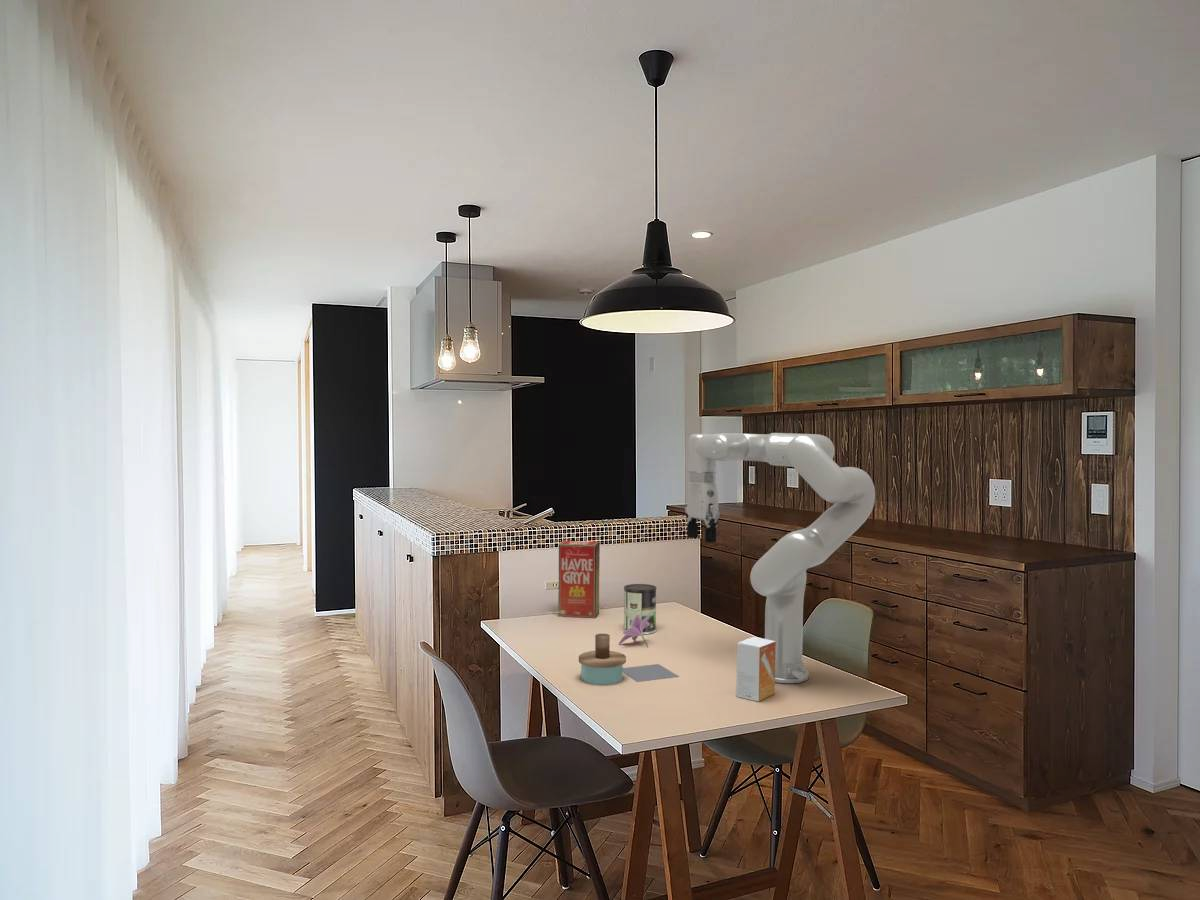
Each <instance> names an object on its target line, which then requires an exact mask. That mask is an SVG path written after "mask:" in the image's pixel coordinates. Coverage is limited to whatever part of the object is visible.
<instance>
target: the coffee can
mask: <svg viewBox="0 0 1200 900" xmlns="http://www.w3.org/2000/svg"><path fill="white" fill-rule="evenodd" d="M623 590H624V594H623V595H624V600H623V602H624V603H623V604H624V606H623V608H624V609H623V612H624V614H623V615H624V620H623V621H624V622H623V623H624V625H623V626H624V627H623V632H624V631H626V630H627V629H629V628H631V624H632V621H633V619H634V618H635V616H636V615H639V616H640V618H641V619H642V620H643V619H645V618H646V617H648V616H649V615H651V614H652V615H651V616H650V618H649V619H648V620H647V622H648V623H650V625H649V626H647V627H645V628H643V632H642V635H651V634H654V633H656V631H657V627H656V625H657V621H656V620H657V615H656V614H657V613H656V612H657V585H656V586H655V585H652V584H648V583H646V584H645V583H633V584H632V583H629V584H626V585H624V586H623Z"/></svg>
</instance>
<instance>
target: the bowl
mask: <svg viewBox="0 0 1200 900" xmlns="http://www.w3.org/2000/svg"><path fill="white" fill-rule="evenodd" d="M580 664H581V663H580ZM623 665H624V664H623ZM623 665H621V666H617V667H610V668H596V667H589V666H585V665H582V664H581V666H580V667H581V673H580V675H581V676H580V677H581V681H583V682H584V683H588V684H591V685H599V686H600V685H602V686H608V685H614V684H618V683H620V682H622V680H623V678H624V677H623V674H624V673H623V668H624V667H623Z"/></svg>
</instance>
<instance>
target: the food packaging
mask: <svg viewBox="0 0 1200 900" xmlns="http://www.w3.org/2000/svg"><path fill="white" fill-rule="evenodd" d="M600 548H601V547H600V541H585V540H584V541H579V540H578V541H577V540H562V542H561V543H559V544H558V602H557V603H558V605H557V606H558V609H557V610H558V616H557V617H559V616H562V617H563V618H583V619H587V618H589V619H596V618H597V617H598V615H599V614H600V559H601V558H600V555H601V554H600V552H601V551H600ZM562 617H561V618H562Z"/></svg>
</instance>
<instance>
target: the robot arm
mask: <svg viewBox="0 0 1200 900" xmlns="http://www.w3.org/2000/svg"><path fill="white" fill-rule="evenodd" d="M834 456H835V446H834V443H833V442H832V440H831V439H830V438H829V437H827V436H825V435H823V434H818V433H817V434H816V433H815V434H814V433H789V432H788V433H787V432H771V433H768V434H763V433H762V434H761V433H759V434H758V433H743V432H742V433H738V432H737V433H735V432H728V433H727V432H724V433H723V432H721V433H693V434H690V435H689V438H688V471H687V472H688V489H687V503H686V504H687V505H686V506H685V507H684V510H685V517H686V523H687V526H686V527H687V528H686V529H687V534H686V535H687V537H686V538H689V539H693V538H698V537H699V523H698V521H699V520H701V521H704V524H705V526H706V527H704V542H705V543H716V542H717V527H718V523H719V518H720V516H721V515H720V514H721V513H720V511H719V496H718V495H719V493H718V488H717V483H716V478H717V477H716V476H717V475H716V473H717V471H716V470H717V469H716V468H717V466H716V465H717V461H719V462H728V461H746V462H747V461H750V462H764V463H768V464H769V465H770V466H777V467H793V468H794V470H795V471H796V472H797V473H798V474H799V476H801V477H802V478H803V480H804V481H805V482H806V483H807V484H808V485H809V486H810V487H811V489H812V490H814V492H815V493H817V495H818V496H819V497H820V498H821V499H823V500H825V501H826V502H828V503H831V504H832V505H831V506H830V507H829V508H828V509H826V510H825V511H824V512H822V514H821V515H820V516H819V517H817V518H816V520H814V521H813V522H812V523H811V524H810V525H808V526H807V527H806V528H803V529H797V530H794V531H791V532H788V533H787V534H785V535H784V536H782V537H781V538H780V539H779V540H778V541H777V542H776V543H775V544H774V545H773V546H772V547H771V548H770V549H768V551H766V552H765V553H764V554H763V555H762V556H761V557H760V558H758V560H757V561H756V562H755V563H754V565H753V566H752V568H751V571H750V576H749V579H750V584H751V585H750V586H751V587H752V589H754V591H755V592H756V593H758V594H759V595H761V596H763V597H766V601H765V610H764V639H768V640H773V641H776V653H775V683H779V684H799V683H803V682H805V681H807V680H808V679H809V674H810V672H809V671H808V670H806V669H805V663H804V662H803V645H804V644H803V639H804V638H803V637H804V635H803V634H804V633H803V631H804V629H803V625H804V624H803V623H804V602H805V601H804V599H805V593H806V592H805V591H806V586H807V585H806V584H807V578H808V577H807V570H808V569H810V568H814V567H817V566H820V565H821V564H823V563H824V562H825V561H826V560H827V559H828V558H829V557H830V556H831V555H832V554H833V553H834V552H835V551H836V550H838V549H839V547H840V546H842V545H843V544H844V543H845V542H846V541H847V540H848V539H850V537H851V536H852V535H853V534H854V533H856V532H857V531H858V530H859V529H860V527H861V526H862V525H863V524H864V523H865V522H866V521H867V519H868V518H869V517H870V515H871V513H872V511H873V510H874V507H875V501H876V488H875V486H874V482H873V480H872V478H871V477H870V475H869V473H867V472H866V471H865V470H864V469H860V468H859V467H855V466H846V467H844V466H843V467H841V466H840V465H838V464H837V463H836V461H834Z"/></svg>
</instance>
